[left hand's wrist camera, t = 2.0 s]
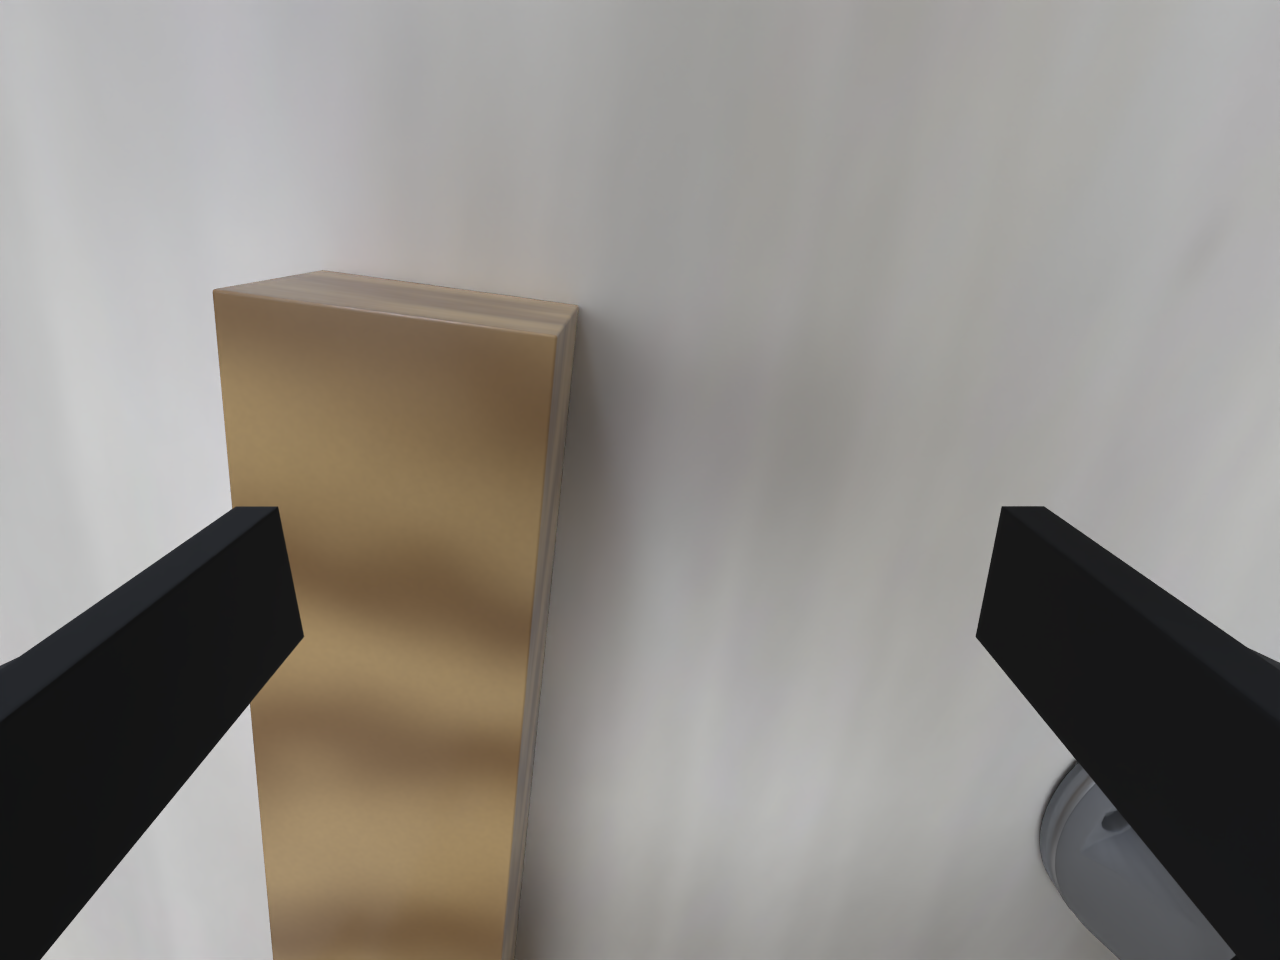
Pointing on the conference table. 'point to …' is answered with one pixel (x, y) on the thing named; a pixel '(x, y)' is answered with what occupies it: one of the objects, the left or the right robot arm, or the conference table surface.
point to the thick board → (399, 599)
